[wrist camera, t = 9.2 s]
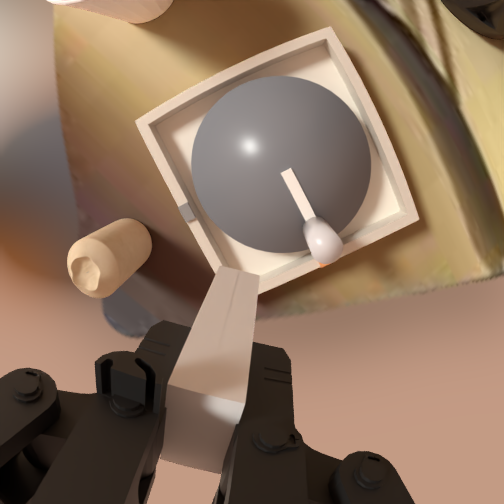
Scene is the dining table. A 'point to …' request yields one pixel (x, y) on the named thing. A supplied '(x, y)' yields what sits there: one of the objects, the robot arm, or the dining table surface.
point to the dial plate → (265, 65)
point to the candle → (108, 257)
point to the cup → (121, 8)
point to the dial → (282, 166)
